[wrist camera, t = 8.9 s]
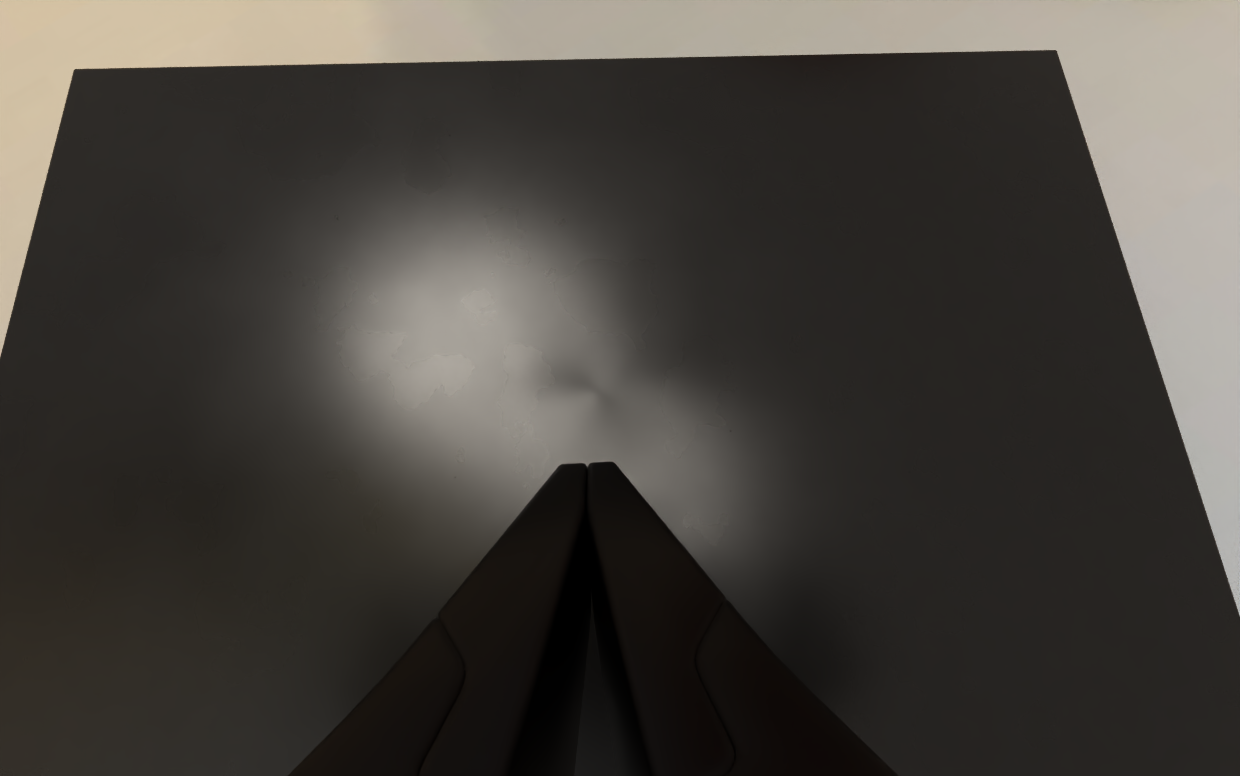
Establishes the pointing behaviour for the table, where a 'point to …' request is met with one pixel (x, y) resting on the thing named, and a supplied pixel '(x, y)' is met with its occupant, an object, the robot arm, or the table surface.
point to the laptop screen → (596, 401)
